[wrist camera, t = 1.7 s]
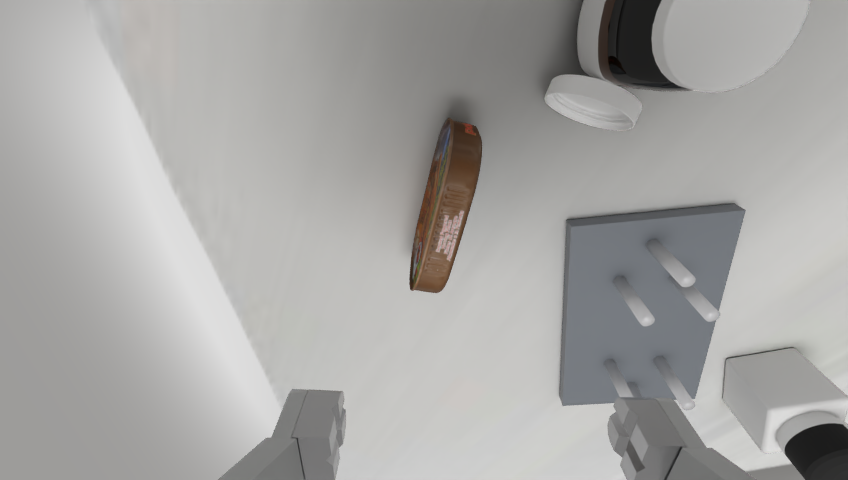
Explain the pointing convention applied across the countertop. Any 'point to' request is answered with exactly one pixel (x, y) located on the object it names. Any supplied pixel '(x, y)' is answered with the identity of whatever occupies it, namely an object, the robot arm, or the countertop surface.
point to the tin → (445, 205)
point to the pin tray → (643, 302)
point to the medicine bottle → (790, 411)
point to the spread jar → (669, 52)
